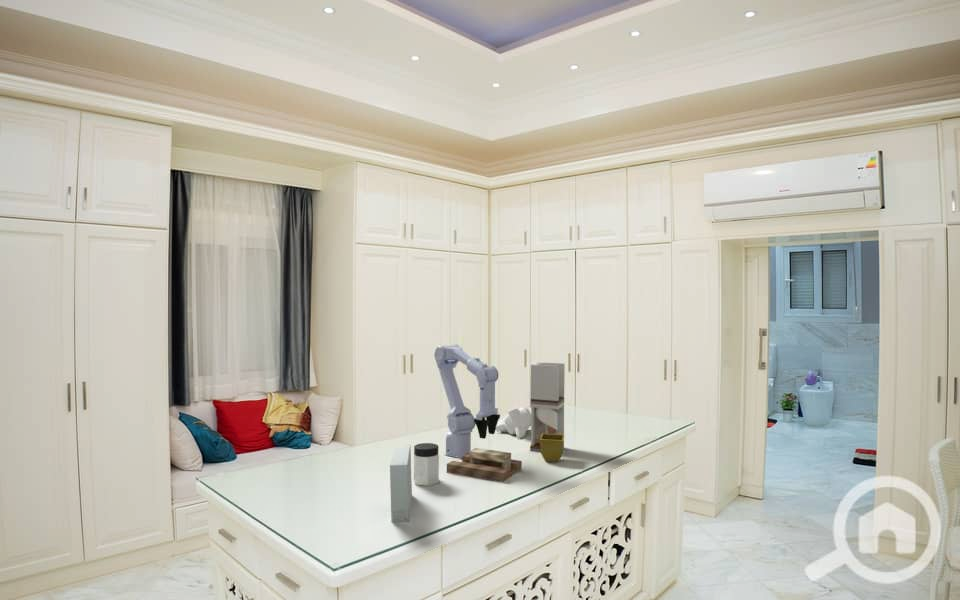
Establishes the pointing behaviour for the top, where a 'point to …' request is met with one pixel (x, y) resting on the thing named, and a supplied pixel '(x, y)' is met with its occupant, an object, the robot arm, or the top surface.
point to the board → (483, 469)
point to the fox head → (515, 422)
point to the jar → (426, 464)
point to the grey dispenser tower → (546, 401)
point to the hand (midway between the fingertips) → (487, 435)
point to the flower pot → (551, 447)
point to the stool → (490, 457)
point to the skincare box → (401, 483)
